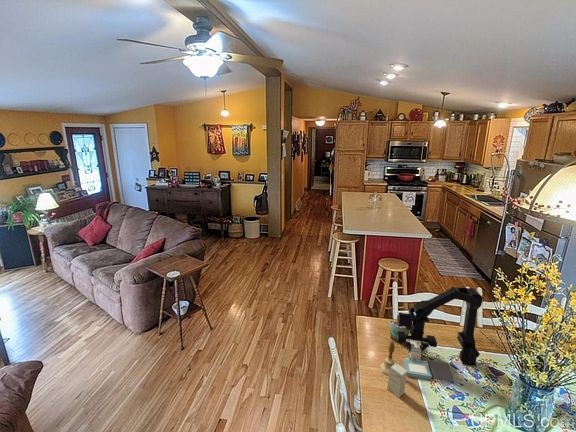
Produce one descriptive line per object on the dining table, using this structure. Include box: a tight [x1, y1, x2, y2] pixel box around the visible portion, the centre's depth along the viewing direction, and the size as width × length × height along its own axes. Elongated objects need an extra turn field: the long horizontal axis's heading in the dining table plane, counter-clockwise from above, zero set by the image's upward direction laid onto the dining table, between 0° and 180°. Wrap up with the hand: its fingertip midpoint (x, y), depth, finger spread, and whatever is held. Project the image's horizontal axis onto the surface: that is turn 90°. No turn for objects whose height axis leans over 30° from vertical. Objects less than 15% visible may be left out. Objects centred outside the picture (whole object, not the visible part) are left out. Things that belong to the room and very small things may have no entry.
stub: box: [409, 340, 422, 361], centre depth 160 cm, size 4×7×6 cm, turn 168°
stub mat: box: [427, 359, 456, 383], centre depth 150 cm, size 10×12×1 cm
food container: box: [388, 319, 410, 344], centre depth 171 cm, size 12×6×10 cm, turn 62°
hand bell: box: [379, 340, 396, 376], centre depth 149 cm, size 8×8×16 cm
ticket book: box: [403, 357, 433, 381], centre depth 150 cm, size 11×10×2 cm
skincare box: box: [387, 362, 408, 398], centre depth 137 cm, size 6×4×12 cm
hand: (414, 352), depth 160 cm, fingers closed on stub, 4 cm apart
